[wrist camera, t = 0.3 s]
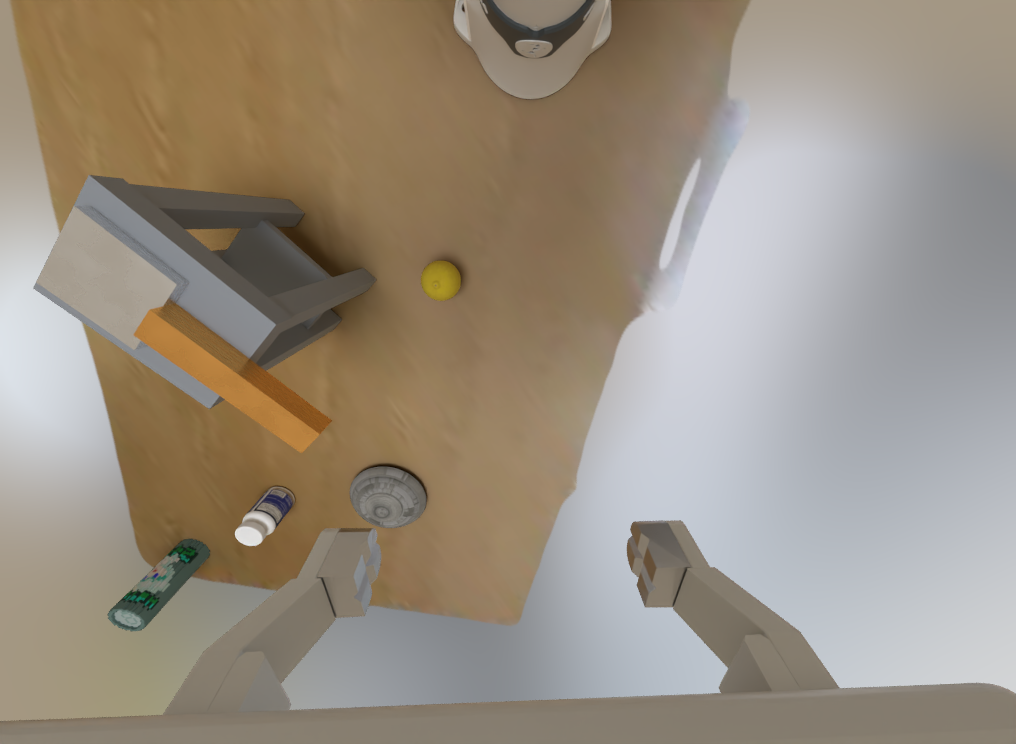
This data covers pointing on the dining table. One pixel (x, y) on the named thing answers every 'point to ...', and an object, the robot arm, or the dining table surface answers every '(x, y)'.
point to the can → (158, 586)
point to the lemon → (440, 280)
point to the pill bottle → (265, 516)
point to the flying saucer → (387, 497)
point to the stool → (226, 272)
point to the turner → (165, 321)
